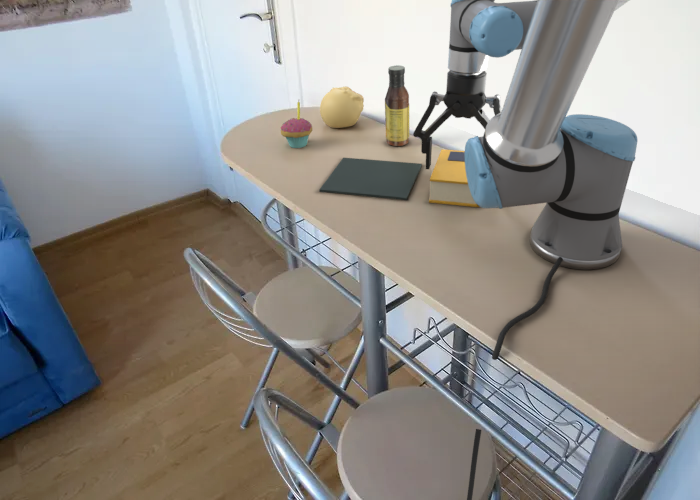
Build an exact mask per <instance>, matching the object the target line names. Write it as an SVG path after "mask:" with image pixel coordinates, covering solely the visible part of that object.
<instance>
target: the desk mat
mask: <svg viewBox="0 0 700 500" xmlns="http://www.w3.org/2000/svg"><path fill="white" fill-rule="evenodd" d="M422 167H423V163H417V162H404V161H391V160H379V159H367V158H366V159H365V158H356V157H355V158H352V157H342V159H341V160H340V161H339V162H338V164H337V165H336V166H335V168H333V169H334V170H332V171H331V173H330V174H329V176H328V177H327V179H326V180H325V181H324V183H323V184H322V185H321V187H320V188H319V189H318V190H319V192H320V193H328V194H329V193H330V194H338V195H339V194H340V195H348V196H349V195H350V196H360V197H371V198H378V199H379V198H380V199H389V200H390V199H391V200H401V201H407V200H408V199H409V195H410V194H411V193H412V192H411V191H412V189H413V187H414V185H415V182H416V181H417V178H418V176H419V174H420V171H421V169H422Z"/></svg>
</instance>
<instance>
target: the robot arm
mask: <svg viewBox="0 0 700 500" xmlns="http://www.w3.org/2000/svg"><path fill="white" fill-rule="evenodd" d="M495 1H496V0H451V2H450V22H449V23H450V24H449V41H448V43H449V44H448V57H447V69H448V71H447V74H446V88H445V89H446V90H445V94H441V93H438V92H437V91H433V92H432V93H431V95H430V97H429V101H428V106H427V107H426V109H425V111H424V113H423V115H422V116H421V118H420V120H419V122H418V123H417V125H416V127H415V129H414V131H413V133H412V136H413V137H414V138H418V139H420V140H421V147H420V148H421V149H420V150H421V151H420V152H421V154H424V155H425V170H430V167H431V165H432V152H433V151H432V149H433V136H432V135H433V134H434V133H435V132H436V131H437V130H438V129H439V128H440V127H441V126H442V125H443V124H444V123H445V122H446V121H447V120H448V119H449V118H451V116H452V117H454V118H456V119H460V118H465V119H468V120H469V119H472V118H475V120H476V121H477V122H478V123H479V124H480V125H481V126H482V127H483V129H484V133H483V135H482V136H478V135H476V136H473V137H470V138H468V140H467V141H466V142H465V146H464V151H465V169H466V176H467V181H468V185H469V189H470V192H471V195H472V197H473V199H474V201H475V203H476V204H477V205H479V208H482V209H499V210H501V209H503V208H511V207H521V206H530V205H539V204H545V205H544V206H543V209H542V210H541V212H540V214H539V215H538V217H537V219H536V221H535V222H534V223H533V225H532V227H531V229H530V235H529V245H530V247H531V249H532V250H533V251H534V252H535V253H536V255H538V256H539V257H541V258H542V259H544V260H546V261H547V262H549V263H552V264H553V265H552V267H551V269H550V270H549V272H548V274H547V275H546V278H545V280H544V283H543V286H542V291H541V294H540V297H539V299H538V301H537V302H536V304H534V305H533V306H532V307H531V308H529V309H528V310H526V311H524V312H523V313H521V314H518V315H517V316H515V317H513V318H512V319H510V320H509V321H507V323H506V324H505V325H504V326H503V328H502V329H501V330H500V332H499V334H498V336H497V340H496V342H495V346H494V349H493V352H492V355H491V359H492V360H494V361H496V360H498V359H499V356H500V353H501V350H502V347H503V344H504V341H505V337H506V336H507V333H508V332H509V331H510V330H511V329H512V328H513V327H514V326H515V325H517V324H518V323H520V322H522V321H523V320H525V319H527V318H530V317H531V316H532V315H534V314H536V312H537V311H539V310H540V309H541V307H542V306H543V305H544V303H546V302H545V301H546V299H547V297H548V292H549V288H550V284H551V281H552V279H553V277H554V276H555V274H556V272H557V271H558V269H559V267H563V268H568V269H574V270H590V271H591V270H598V269H604V268H606V267H609V266H612V265H613V264H615V263H616V262H617V261H618V259H619V258H620V254H621V252H622V248H623V240H622V231H621V222H620V211H621V207H622V203H623V201H624V196H625V192H626V189H627V185H628V181H629V177H630V174H631V170H632V166H633V163H634V162H635V160H636V153H637V148H638V147H637V146H638V136H637V133H636V131H634V129H632V128H631V127H629V126H628V125H627V124H624V123H622V122H619V121H617V120H615V119H612V118H608V117H603V116H599V115H594V114H583V113H582V114H581V113H580V114H579V113H578V114H577V113H576V114H569V115H568V112H569V110H570V108H571V106H572V103H573V102H574V99H575V97H576V95H577V93H578V91H579V89H580V86H581V84H582V82H583V80H584V78H585V75H586V74H587V72H588V69H589V67H590V65H591V63H592V60H593V58H594V57H595V54H596V52H597V49H598V48H599V45H600V43H601V41H602V39H603V37H604V34H605V32H606V30H607V28H608V26H609V24H610V21H611V19H612V17H613V15H614V13H615V12H617V10H619V9H620V8H621V7H623V6H624V5H626V4H627V3H628V2H630V1H631V0H526V1H509V2H495ZM516 50H517V51H518V50H519V51H520V53H519V57H518V59H517V62H516V66H515V69H514V72H513V75H512V78H511V81H510V84H509V88H508V90H507V93H506V96H505V99H504V102H503V107H502V105H501V95H500V94H498V93H497V94H495V95H494V96H487V95H486V85H487V84H486V83H487V82H486V81H487V72H486V70H487V69H488V63H489V57H491V58H496V59H497V58H503V57H506V56H508V55H509V54H511V53H512V52H514V51H516ZM441 102H443V103H444V105H445V106H446V108H445V109H444V111H443V112H441V114H440V115H439V116H437V118H436V119H434V121H433V122H432V123H431V124H430V125H429V126H427V128H426V129H425V130H423V128H424V127H425V125H426V123H427V121H428V120H429V118H430V116H431V115H432V113H433V111H434V110H435V107H436V106H439V105H440V104H441ZM486 104H487V105H489V108H491V109H493V114H494V116H492V117H491V118H489V117H488V115H486V113H485V111H484V109H483V107H485V105H486ZM481 437H482V429H479V428H475V433H474V440H473V446H472V455H471V462H470V469H469V470H470V471H469V480H468V487H467V496H466V500H473V496H474V495H473V494H474V487H475V479H476V478H475V477H476V471H477V465H478V464H477V463H478V457H479V449H480V444H481V443H480V442H481Z"/></svg>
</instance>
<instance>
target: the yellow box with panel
mask: <svg viewBox="0 0 700 500" xmlns="http://www.w3.org/2000/svg"><path fill="white" fill-rule="evenodd" d="M428 203H429V204H439V205H450V206H461V207H471V208H480V206H479V205H477V204H476V203H475V201H474V199H473V197H472V195H471V192H470V189H469V185H468V181H467V176H466V169H465V150H459V149H457V150H456V149H442V148H441V149H440V151H439V154H438V157H437V160H436V161H435V165H434V168H433V169H432V172H431V175H430V178H429V199H428Z"/></svg>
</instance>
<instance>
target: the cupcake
mask: <svg viewBox="0 0 700 500" xmlns="http://www.w3.org/2000/svg"><path fill="white" fill-rule="evenodd" d="M297 100H298V102H297V103H296V104H297V105H296V106H297V109H296V110H297V112H296V113H297V118H295V117H293V118H290V119H288V120H287V121H284V122H282V125H281V126H280V135H281V136H282V137H283V138H285V140H286V141H287V143H288V145H289V147H290V148H293V149H301V148H304V147H306V146H307V145H308V141H309V137H310V135H311V133H312V132H313V124H312V123H311V122H310V121H309V120H308V119H305V118H304V117H303V118H301V102H300V99H297Z"/></svg>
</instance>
